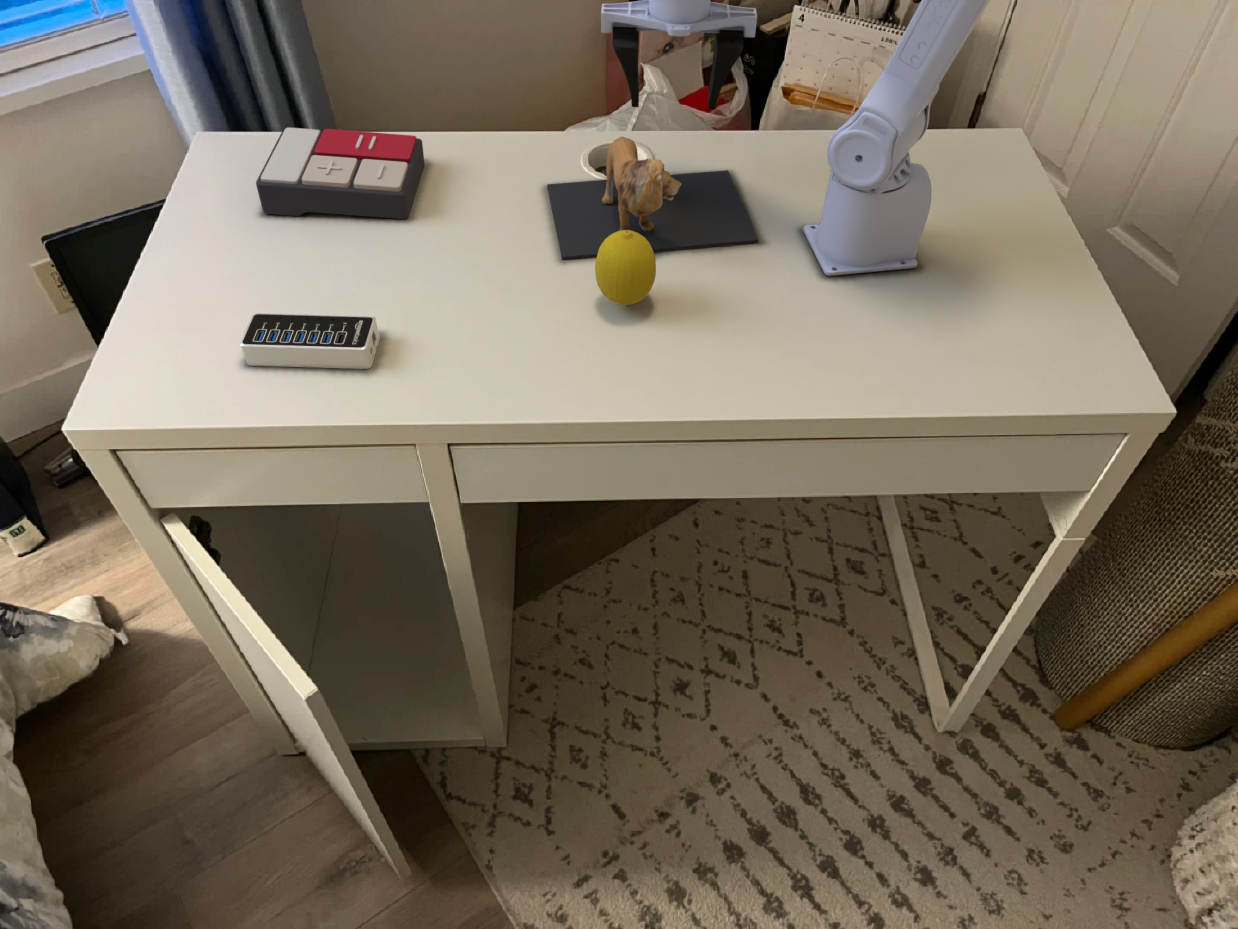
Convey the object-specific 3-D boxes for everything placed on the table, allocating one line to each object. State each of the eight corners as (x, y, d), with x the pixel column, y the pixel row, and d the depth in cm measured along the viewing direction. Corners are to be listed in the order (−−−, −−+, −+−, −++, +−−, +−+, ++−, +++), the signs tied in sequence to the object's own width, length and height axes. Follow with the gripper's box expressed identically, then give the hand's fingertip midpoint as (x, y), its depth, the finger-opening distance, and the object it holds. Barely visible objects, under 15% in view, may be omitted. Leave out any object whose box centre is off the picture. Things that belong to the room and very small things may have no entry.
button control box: (403, 188, 94) (252, 176, 94) (407, 224, 97) (261, 213, 97) (422, 131, 101) (281, 120, 101) (425, 167, 105) (289, 156, 104)
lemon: (648, 326, 86) (651, 254, 80) (589, 317, 87) (588, 245, 81) (658, 289, 90) (662, 217, 84) (602, 281, 91) (602, 210, 85)
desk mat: (727, 173, 104) (728, 169, 103) (758, 242, 95) (758, 239, 95) (547, 187, 101) (547, 183, 101) (562, 260, 93) (562, 256, 93)
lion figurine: (681, 247, 94) (687, 167, 87) (632, 259, 92) (635, 178, 86) (624, 172, 103) (626, 93, 96) (579, 182, 101) (577, 102, 94)
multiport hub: (260, 332, 85) (252, 312, 83) (380, 335, 85) (376, 315, 83) (245, 365, 82) (238, 345, 80) (371, 369, 82) (366, 349, 80)
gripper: (599, -25, 82) (599, 121, 92) (766, -20, 82) (747, 125, 92) (603, -56, 87) (602, 86, 97) (760, -51, 86) (743, 90, 97)
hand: (673, 103), depth 95 cm, fingers open, 7 cm apart
